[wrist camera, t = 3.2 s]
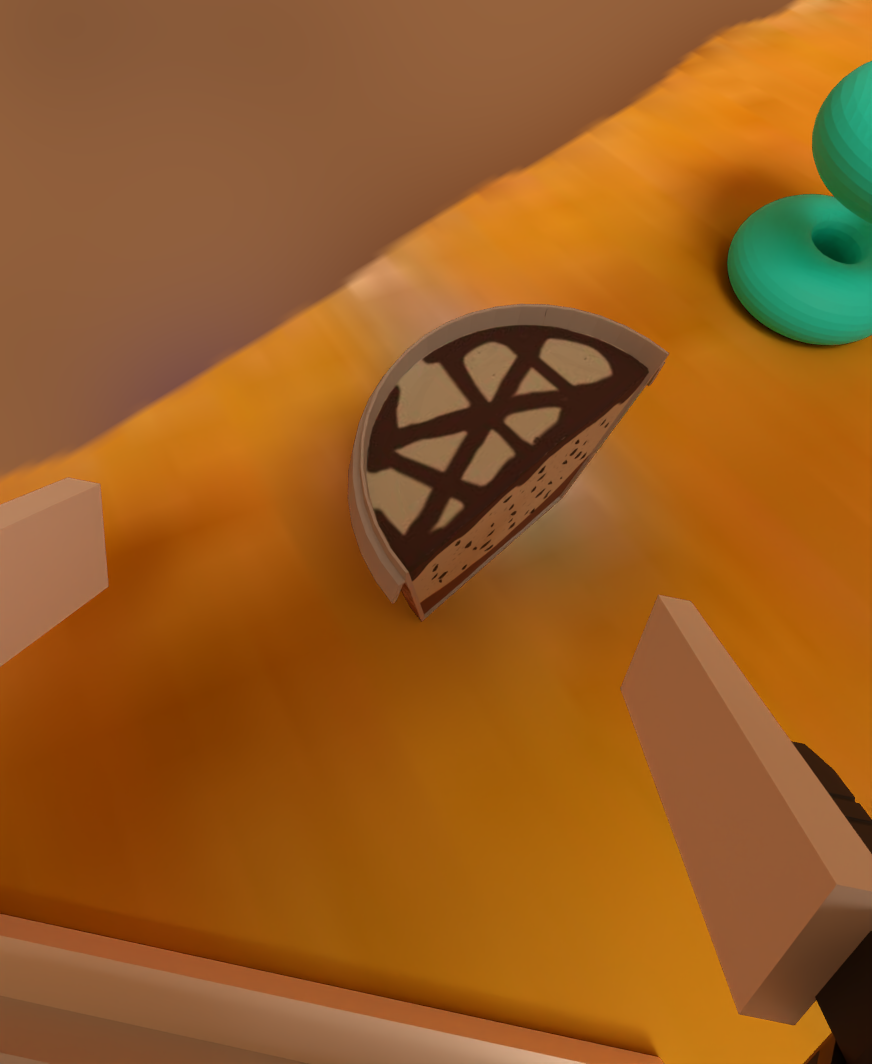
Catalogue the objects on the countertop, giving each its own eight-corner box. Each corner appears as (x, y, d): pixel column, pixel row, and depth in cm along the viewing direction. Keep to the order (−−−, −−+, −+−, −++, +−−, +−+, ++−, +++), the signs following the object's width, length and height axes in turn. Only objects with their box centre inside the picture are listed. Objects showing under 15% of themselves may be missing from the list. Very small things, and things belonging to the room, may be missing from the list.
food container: (497, 400, 28) (545, 235, 19) (582, 480, 27) (679, 344, 17) (310, 544, 25) (252, 430, 15) (396, 644, 23) (390, 586, 14)
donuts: (828, 136, 21) (863, 12, 25) (699, 316, 31) (737, 208, 34) (1079, 222, 20) (1079, 81, 24) (867, 381, 30) (889, 264, 33)
